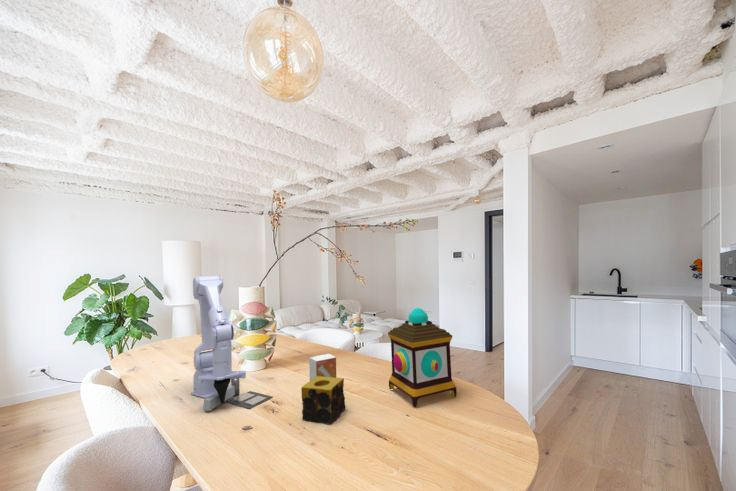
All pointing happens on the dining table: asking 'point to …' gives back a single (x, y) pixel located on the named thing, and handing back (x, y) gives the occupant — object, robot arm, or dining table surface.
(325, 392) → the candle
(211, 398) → the gray rectangular box
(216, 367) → the robot arm
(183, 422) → the dining table surface
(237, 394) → the post
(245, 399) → the label panel
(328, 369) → the small box
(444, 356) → the decorative lantern
